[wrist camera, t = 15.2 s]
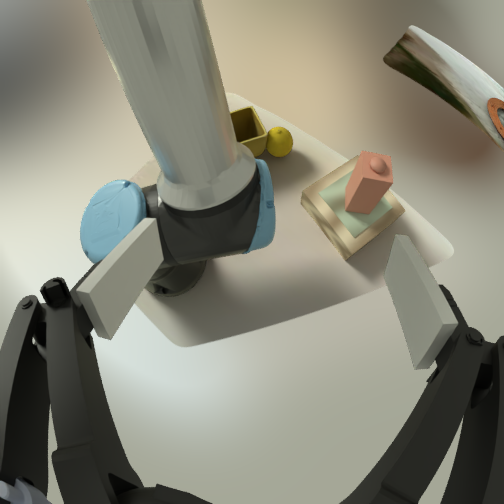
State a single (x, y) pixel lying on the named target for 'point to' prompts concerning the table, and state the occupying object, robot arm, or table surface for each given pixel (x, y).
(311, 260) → the table surface
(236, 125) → the flower pot
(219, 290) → the table surface
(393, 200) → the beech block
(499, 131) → the ring
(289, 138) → the lemon
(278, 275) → the table surface
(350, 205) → the pink knobbed block
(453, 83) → the table surface
